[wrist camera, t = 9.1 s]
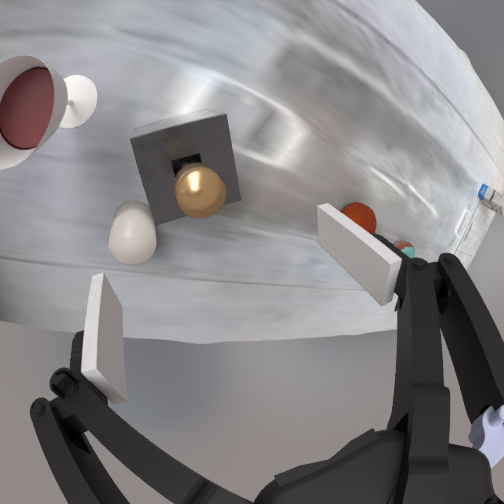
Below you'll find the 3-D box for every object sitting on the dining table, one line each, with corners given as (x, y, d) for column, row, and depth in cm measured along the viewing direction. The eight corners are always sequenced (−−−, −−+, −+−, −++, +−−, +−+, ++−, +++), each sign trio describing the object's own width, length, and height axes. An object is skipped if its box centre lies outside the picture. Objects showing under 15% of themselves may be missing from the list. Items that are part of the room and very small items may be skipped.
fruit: (355, 235, 63) (377, 253, 57) (325, 233, 60) (346, 253, 53) (367, 199, 59) (391, 215, 53) (337, 195, 55) (362, 211, 49)
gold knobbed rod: (162, 182, 41) (173, 241, 26) (150, 137, 37) (151, 169, 22) (207, 169, 42) (246, 219, 27) (198, 124, 38) (234, 146, 23)
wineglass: (112, 94, 33) (76, 93, 15) (70, 143, 34) (10, 190, 16) (75, 60, 28) (14, 36, 10) (34, 110, 29) (-47, 135, 11)
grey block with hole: (153, 193, 43) (155, 225, 33) (135, 128, 37) (130, 139, 27) (218, 174, 45) (241, 200, 36) (206, 109, 39) (226, 114, 29)
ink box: (477, 193, 76) (502, 207, 67) (483, 182, 74) (507, 196, 65) (481, 204, 80) (504, 218, 71) (486, 194, 79) (509, 208, 70)
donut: (372, 264, 71) (381, 272, 68) (400, 230, 69) (410, 238, 65) (387, 280, 78) (395, 288, 75) (412, 250, 75) (421, 257, 72)
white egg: (121, 244, 45) (119, 270, 39) (107, 208, 41) (101, 230, 35) (159, 232, 47) (162, 256, 40) (147, 194, 43) (147, 214, 36)
